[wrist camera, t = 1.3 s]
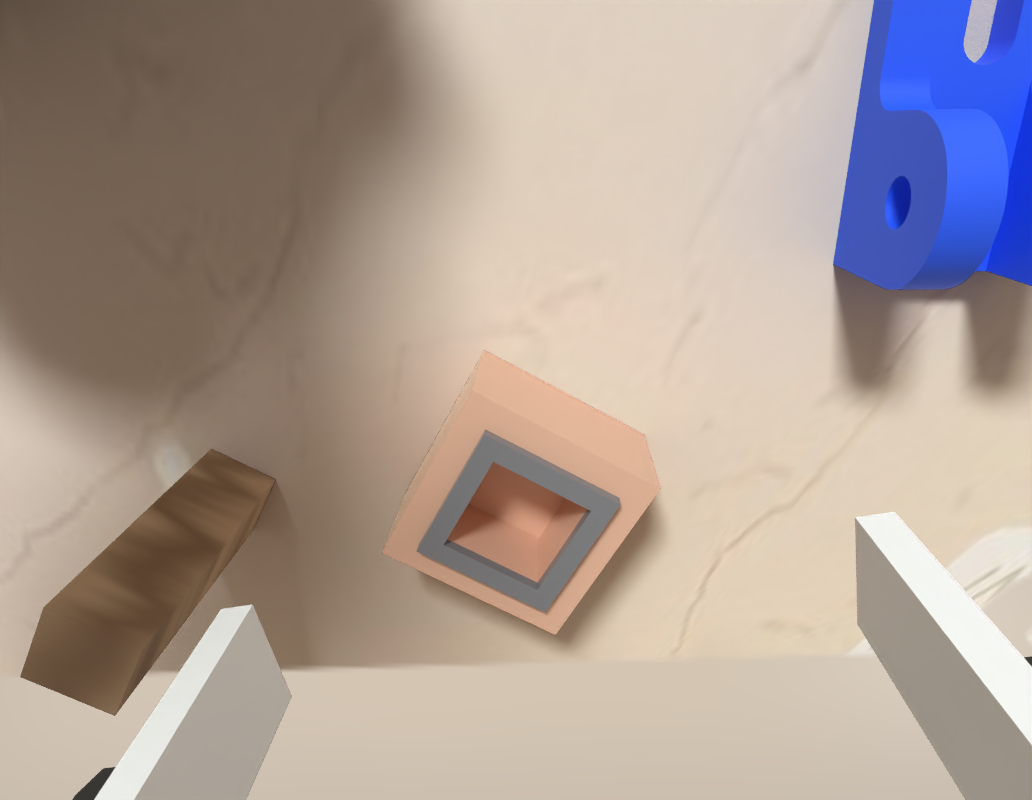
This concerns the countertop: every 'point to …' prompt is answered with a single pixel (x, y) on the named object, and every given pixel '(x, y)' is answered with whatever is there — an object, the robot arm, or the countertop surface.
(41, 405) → the countertop surface
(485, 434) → the peach square socket block
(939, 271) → the bracket
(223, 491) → the tall wooden block
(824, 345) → the countertop surface
